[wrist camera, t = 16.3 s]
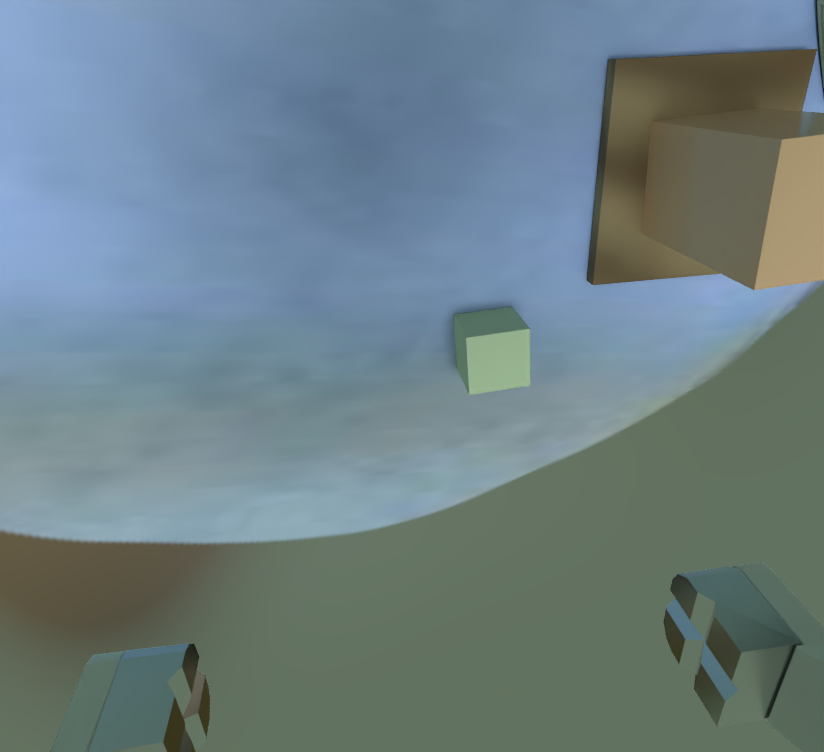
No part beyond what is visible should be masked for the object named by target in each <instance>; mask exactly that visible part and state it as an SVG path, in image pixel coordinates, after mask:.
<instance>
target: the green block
mask: <svg viewBox="0 0 824 752" xmlns="http://www.w3.org/2000/svg"><path fill="white" fill-rule="evenodd" d="M453 317H454V332H455V347H456V363H457V369H458V371H459V374H460V376H461V378H462V380H463V382H464V384H465V386H466V389H467V391H468V393H469V395H471V394H478V393H485V392H491V391H498V390H504V389H511V388H517V387H524V386H530V328H529V327H528V326H527V324H526V323H525V322H524V321H523V320H522V318H521V317H520V316H519V315H518V314H517V312H516V311H515V310H514V309H513V308H512V307H505V308H498V309H491V310H484V311H476V312H469V313H462V314H455V315H453Z"/></svg>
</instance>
